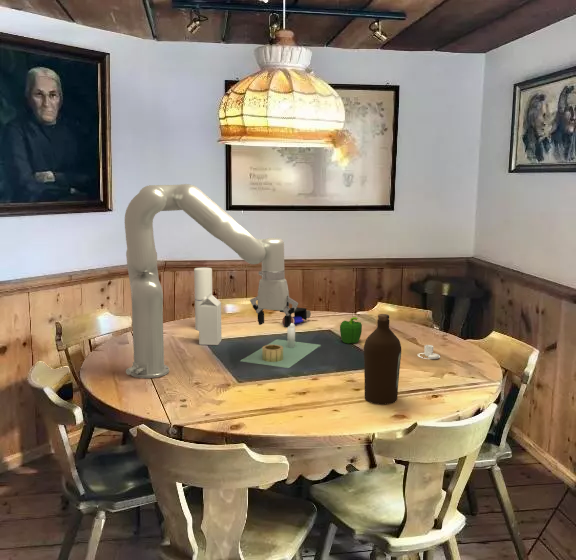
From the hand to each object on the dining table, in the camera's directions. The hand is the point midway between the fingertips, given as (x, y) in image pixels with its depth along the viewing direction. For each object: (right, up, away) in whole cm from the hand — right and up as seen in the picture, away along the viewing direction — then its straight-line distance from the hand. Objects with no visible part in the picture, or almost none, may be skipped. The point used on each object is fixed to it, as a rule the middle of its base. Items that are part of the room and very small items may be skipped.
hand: (274, 325), depth 216 cm
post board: (+3, -12, +9) cm, 15 cm away
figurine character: (+8, -4, +56) cm, 56 cm away
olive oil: (+32, -19, -31) cm, 48 cm away
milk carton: (-25, -9, +26) cm, 37 cm away
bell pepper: (+28, -9, +28) cm, 41 cm away
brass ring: (-1, -12, +2) cm, 12 cm away
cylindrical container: (-30, -5, +47) cm, 56 cm away
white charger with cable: (+53, -13, +9) cm, 55 cm away
